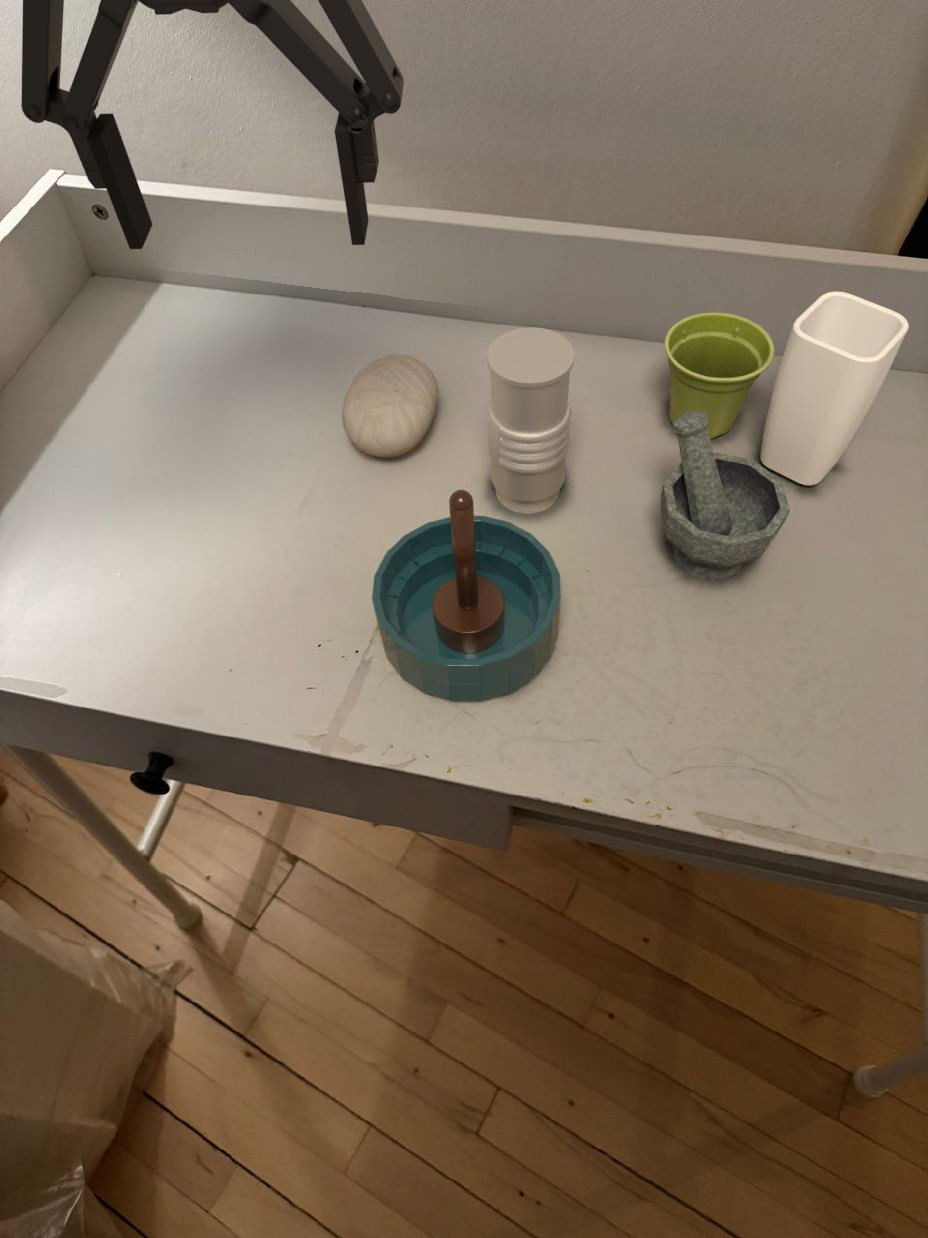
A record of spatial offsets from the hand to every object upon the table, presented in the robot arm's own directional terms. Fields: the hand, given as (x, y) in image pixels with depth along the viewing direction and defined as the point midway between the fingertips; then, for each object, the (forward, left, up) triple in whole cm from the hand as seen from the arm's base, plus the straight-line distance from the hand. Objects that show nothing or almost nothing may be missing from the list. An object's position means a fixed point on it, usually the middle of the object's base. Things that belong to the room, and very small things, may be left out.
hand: (250, 235), depth 51 cm
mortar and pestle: (+33, -2, -29) cm, 43 cm away
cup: (+43, +8, -29) cm, 52 cm away
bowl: (+13, -10, -28) cm, 33 cm away
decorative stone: (+5, +14, -29) cm, 32 cm away
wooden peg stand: (+13, -10, -28) cm, 32 cm away
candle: (+18, +5, -29) cm, 34 cm away
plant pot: (+35, +14, -29) cm, 47 cm away
